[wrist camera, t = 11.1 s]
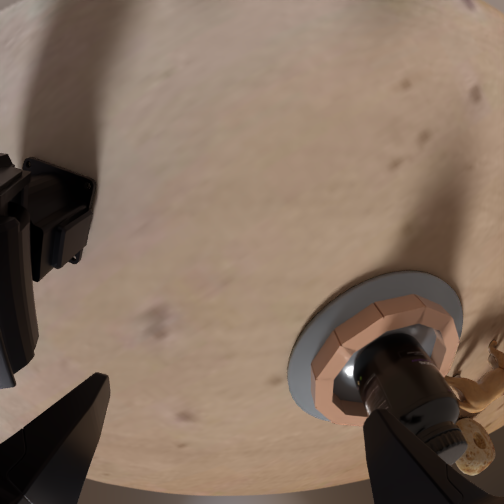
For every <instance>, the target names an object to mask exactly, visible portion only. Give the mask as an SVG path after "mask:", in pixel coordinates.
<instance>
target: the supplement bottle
mask: <svg viewBox="0 0 504 504" xmlns="http://www.w3.org/2000/svg"><path fill="white" fill-rule="evenodd" d="M353 378H354V381H355V384H356V387H357V389H358V392H359V394H360V397H361V400H362V402H363V405H364V407H365V410H366V412H367V415H368V417H369V415H370V414H371V412H372V411H373V410H374V409H378V408H384V409H386V410H387V411H389V412H390V413H391V414H392V415H393V416H394V417H395V418H396V419H397V420H399V421H400V422H401V423H402V424H403V425H404V426H405V427H406V428H407V429H409V430H410V431H411V432H412V433H413V434H414V435H415V436H417V437H418V438H419V439H420V440H421V441H422V442H423V443H424V444H426V445H427V446H428V447H429V448H430V449H431V450H432V451H434V452H435V453H436V454H437V455H438V456H439V457H440V458H442V459H443V460H444V461H445V462H446V463H447V464H449V465H450V466H451V465H452V464H453V463H455V462H456V461H457V460H458V459H459V458H460V457H461V456H462V455H463V454H464V453H465V451H466V450H467V447H468V444H467V441H466V439H465V438H464V436H463V434H462V431H461V429H460V427H459V426H458V425H456V422H457V420H458V417H459V413H460V404H459V401H458V399H457V397H456V395H455V394H454V392H453V391H452V389H451V388H450V386H449V385H448V383H447V382H446V380H445V379H444V377H443V376H442V374H441V373H440V371H439V370H438V368H437V367H436V366H435V364H434V363H433V361H432V360H431V358H430V357H429V355H428V354H427V353H426V351H425V350H424V348H423V347H422V346H421V344H420V343H419V342H418V341H417V339H416V338H414V337H413V336H411V335H409V334H406V333H393V334H389V335H386V336H383V337H381V338H379V339H377V340H375V341H374V342H372V343H371V344H370V345H368V346H367V347H366V348H365V349H364V350H363V351H362V352H361V354H360V355H359V357H358V358H357V360H356V362H355V365H354V368H353Z"/></svg>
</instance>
